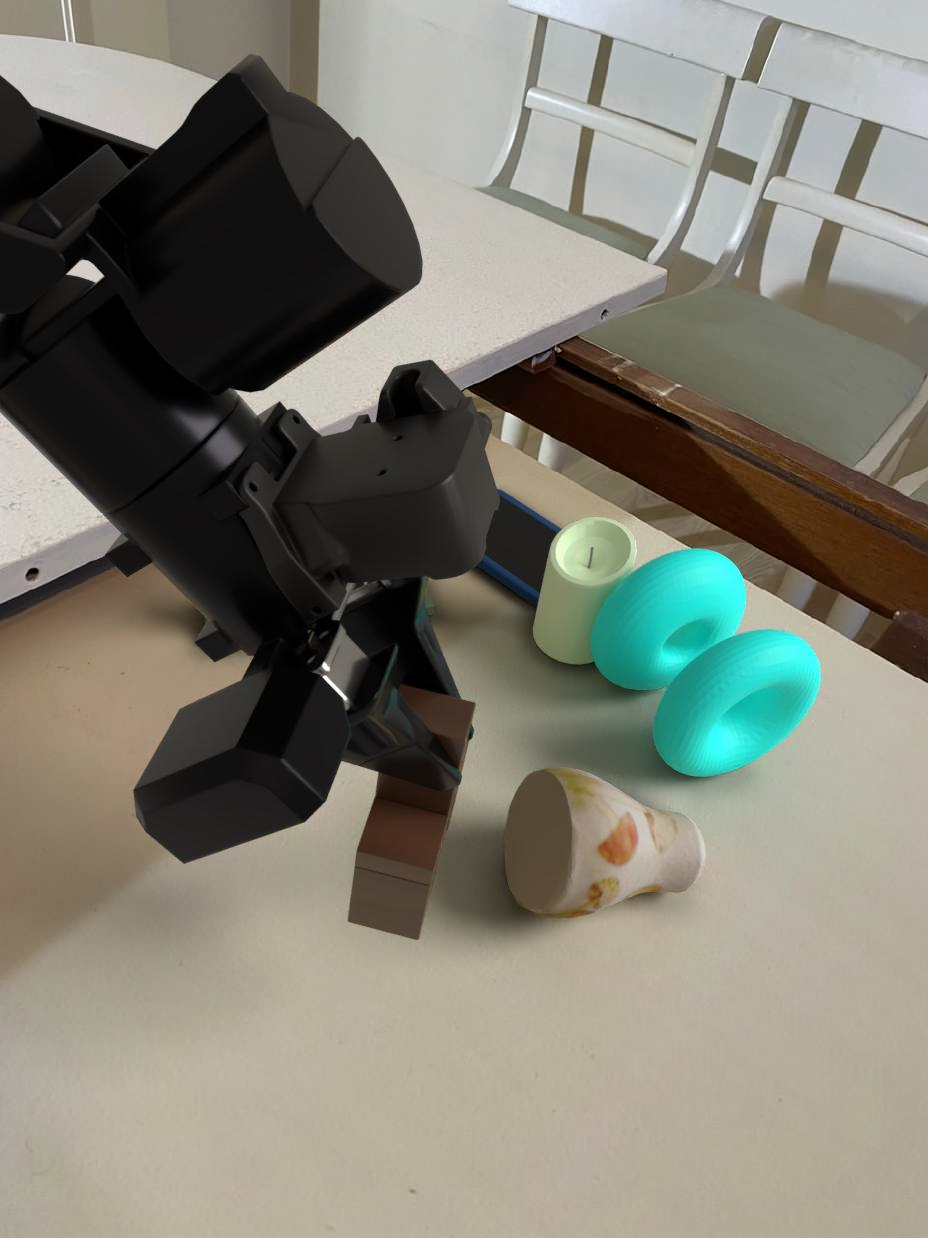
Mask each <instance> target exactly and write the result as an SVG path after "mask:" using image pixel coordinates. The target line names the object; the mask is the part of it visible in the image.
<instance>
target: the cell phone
mask: <svg viewBox="0 0 928 1238" xmlns="http://www.w3.org/2000/svg"><path fill="white" fill-rule="evenodd" d="M497 490H498V494H499V497H500V504H499V508H498V510H497V511H494V513H493V517H492V520H491V523H490V526H489V529H488V533H487V536H486V550H485V553H484V556H483V558H482V560H481V561H480V562H479V563H478V565H477V566H476V567H478V568H479V569H481V570H482V571H484V572H485V573H487V574H488V575H489V576H490V577H492V578H493V579H495V580H496V581H498V582H499V583H500V584H502V585H504V586H505V587H506V588H508V589H509V590H511V591H512V592H514V593H515V594H516V595H518V596H519V597H521V598H522V599H524V600H525V601H526V602H528V603H529V604H531V605H532V606H533V607H535V608H536V609H537V606H538V602H539V597H540V592H541V588H542V583H543V578H544V573H545V569H546V564H547V559H548V555H549V550H550V546H551V543H552V541H553V539H554V538H555V536H556V535H557V534H558V533H559V532H560V531H561V530H562V529H563V528H561V527H560V526H558V525H556V523H554V522H552V521H550V520H549V519H548V518H546V517H544V516H543V515H541V514H540V513H538V512H537V511H535V510H534V509H532V508H531V507H529V506H528V505H526V504H524V503H523V502H521V501H520V500H518V499H517V498H516V497H514V496H512V495H511V494H509V493H507V492H505V491H504V490H502V489H498V488H497Z"/></svg>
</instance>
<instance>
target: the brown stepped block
mask: <svg viewBox="0 0 928 1238" xmlns="http://www.w3.org/2000/svg"><path fill="white" fill-rule="evenodd" d="M397 691H398V692H399V693H400V694H401V695H402V697H403V698H404V699H405V700H406V702H407V703H408V704H409V705H410V707H411V708H412V709H413V710H414V711H415V713H416V714H417V715H418V716H419V718H420V719H421V720H422V721H423V723H424V724H425V725H426V726H427V728H428V729H429V730H430V731H431V732H432V734H433V735H434V736H435V737H436V739H437V740H438V741H439V742H440V744H441V745H442V746H443V747H444V749H445V750H446V751H447V753H448V754H449V756H450V757H451V759H452V760H453V762H454V763H455V765H456V766H457V768H458V769H459V771H460V773H461V774H462V775H463V771H464V770H463V769H464V765H465V761H466V757H467V753H468V747H469V744H470V740H469V741H468V737H469V733H470V728H471V724H472V725H473V720H474V715H475V710H476V705H477V704H476V702H475V701H471V700H468V699H464V698H461V699H460V698H456V697H452V696H448V695H444V694H440V693H436V692H432V691H428V690H424V689H420V688H416V687H412V686H408V685H404V684H399V685H398V688H397ZM459 787H460V785H459V786H456V787H453V788H451V789H448V790H445V791H437V790H434V789H430V788H427V787H424V786H421V785H418V784H414V783H411V782H408V781H405V780H402V779H398V778H395V777H392V776H389V775H386V774H382V773H379V772H377V779H376V786H375V793H374V797H373V800H372V804H371V806H370V810H369V812H368V815H367V818H366V821H365V824H364V828H363V829H362V830H363V831H362V834H361V836H360V839H359V843H358V845H357V847H356V852H355V859H354V868H353V875H352V882H351V891H350V897H349V904H348V905H349V906H348V912H347V922H348V923H349V924H354V925H358V926H361V927H365V928H368V929H373V930H377V931H380V932H384V933H388V934H392V935H394V936H395V935H396V936H399V937H403V938H407V939H410V940H414V941H419V939H421V938H420V937H421V933H422V930H423V926H424V922H425V919H426V914H427V910H428V908H429V907H428V906H429V902H430V898H431V894H432V889H433V885H434V880H435V875H436V873H437V872H436V871H437V867H438V863H439V858H440V854H441V850H442V846H443V843H444V839H445V834H446V831H448V830H449V827H450V823H451V819H452V816H453V813H454V812H453V811H454V808H455V805H456V800H457V796H458V791H459Z"/></svg>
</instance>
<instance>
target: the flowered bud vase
mask: <svg viewBox="0 0 928 1238" xmlns="http://www.w3.org/2000/svg"><path fill="white" fill-rule="evenodd" d="M511 799H512V800H511V802H510V805H509V807H508V812H507V817H506V823H505V827H504V834H503V836H504V837H503V853H504V868H505V869H504V870H505V877H506V882H507V885H508V889H509V890H510V893H511V895H512V896H513V898H514V900H516V904H518V905H519V906H520V907H522V908H524V909H525V910H528V911H530V912H533V913H534V914H537V915H540V916H543V917H548V918H553V919H574V918H579V917H584V916H588V915H592V914H595V913H597V912H599V911H602V910H604V909H607V908H609V907H612V906H613V905H615V904H618V903H620V902H623V901H624V900H627V899H630V898H631V897H634V896H637V895H640V894H644V893H654V892H656V893H675V894H677V893H679V894H680V893H683V892H686V891H688V890H689V889H690V888H691V887H693V885H694V883H695V882H696V881H698V879H699V878H700V877H701V875H702V873H703V871H704V868H705V865H706V860H707V851H706V843H705V839H704V837H703V835H702V832H701V830H700V829H699V828H698V827H697V825H696V823H695V821H694V820H692V819H691V818H690V817H689V816H688V815H686V814H684V813H682V812H677V811H671V810H661V809H656V808H652V807H649V806H648V805H647V806H646V805H644V804H643V803H641V802H638V800H635V798H633V797H632V796H630V795H628V794H626V793H625V792H623V791H622V790H620V789H619V788H617V787H615V786H614V785H613V784H610V783H609V782H607V781H606V780H604V779H602V778H600V777H599V776H596V775H595V774H593V773H589V772H588V771H585V770H581V769H578V768H573V767H563V766H561V767H545V768H540V769H538V770H534V771H532V772H530V773H529V774H528V775H526V776H525V777H524V778H523V780H522V781H521V782H520V784H519V785H518V787H517V788H516V791H515V793H514V795H513V797H512V798H511Z"/></svg>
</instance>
